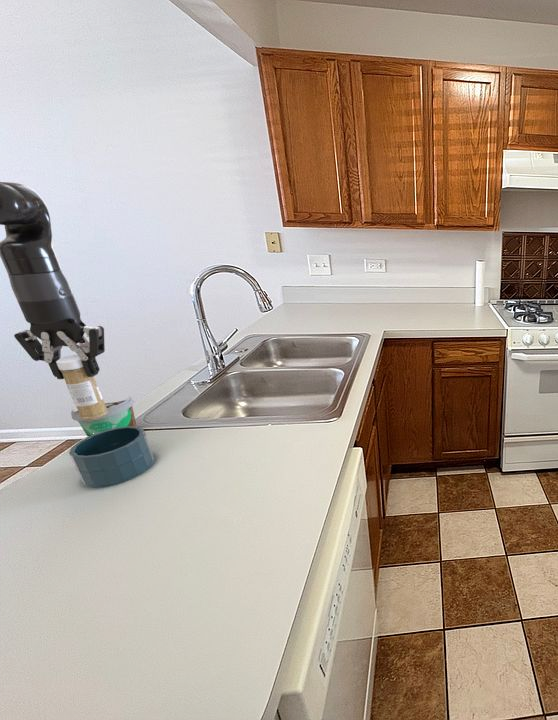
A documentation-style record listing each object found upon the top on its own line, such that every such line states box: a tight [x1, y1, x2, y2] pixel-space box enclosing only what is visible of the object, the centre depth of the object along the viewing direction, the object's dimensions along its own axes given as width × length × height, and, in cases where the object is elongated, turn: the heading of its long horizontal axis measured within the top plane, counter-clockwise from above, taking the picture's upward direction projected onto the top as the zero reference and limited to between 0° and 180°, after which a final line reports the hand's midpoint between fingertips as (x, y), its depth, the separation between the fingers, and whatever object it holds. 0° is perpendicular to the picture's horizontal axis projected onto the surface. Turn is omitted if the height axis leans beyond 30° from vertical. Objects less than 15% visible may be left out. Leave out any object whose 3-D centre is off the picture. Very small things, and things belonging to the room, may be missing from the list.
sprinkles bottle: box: [56, 354, 108, 420], centre depth 83 cm, size 5×5×13 cm
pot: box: [68, 426, 155, 489], centre depth 91 cm, size 13×13×8 cm
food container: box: [70, 395, 138, 437], centre depth 102 cm, size 12×6×10 cm, turn 129°
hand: (78, 376), depth 82 cm, fingers closed on sprinkles bottle, 4 cm apart
